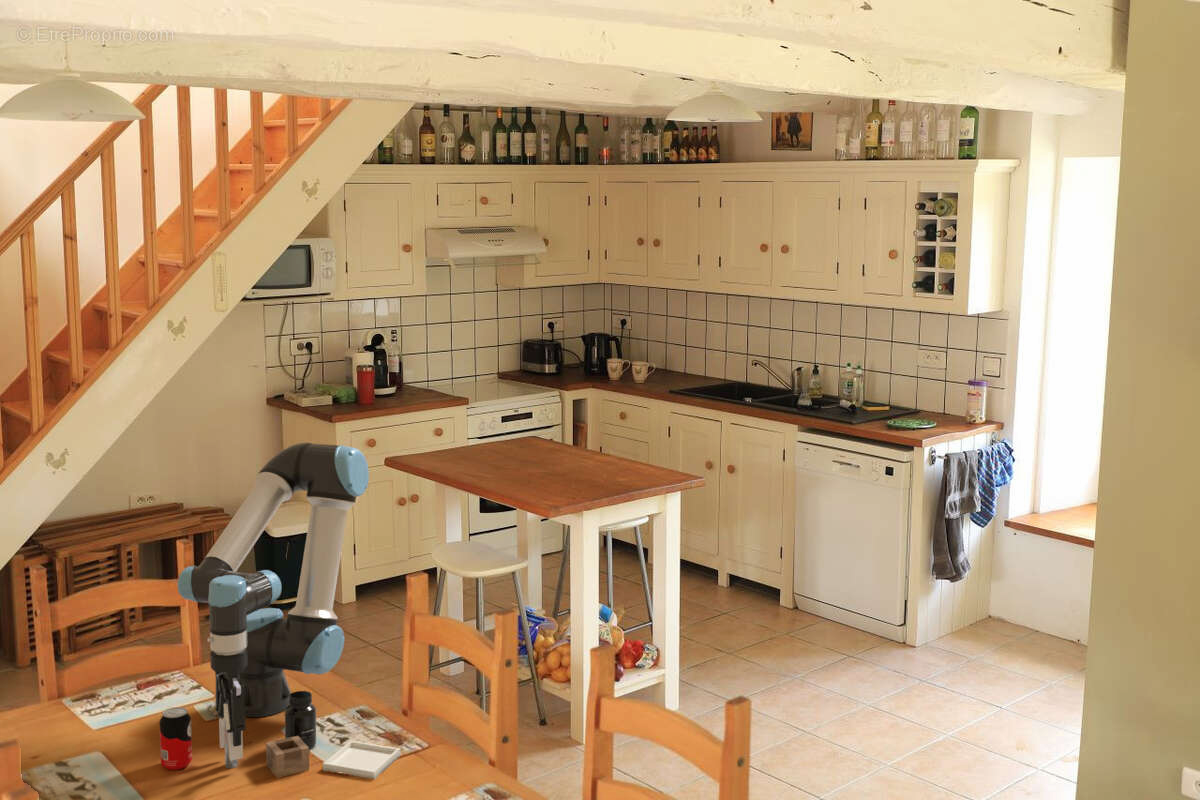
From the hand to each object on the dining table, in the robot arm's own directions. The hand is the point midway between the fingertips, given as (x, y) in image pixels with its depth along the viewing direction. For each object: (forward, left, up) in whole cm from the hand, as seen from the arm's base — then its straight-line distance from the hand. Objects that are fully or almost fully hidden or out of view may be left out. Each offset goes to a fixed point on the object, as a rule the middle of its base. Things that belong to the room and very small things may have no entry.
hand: (231, 752), depth 256 cm
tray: (+13, +25, -3) cm, 28 cm away
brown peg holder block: (+7, +10, -3) cm, 13 cm away
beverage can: (-6, -10, -3) cm, 12 cm away
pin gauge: (0, 0, -3) cm, 3 cm away
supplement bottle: (-2, +16, -3) cm, 16 cm away
